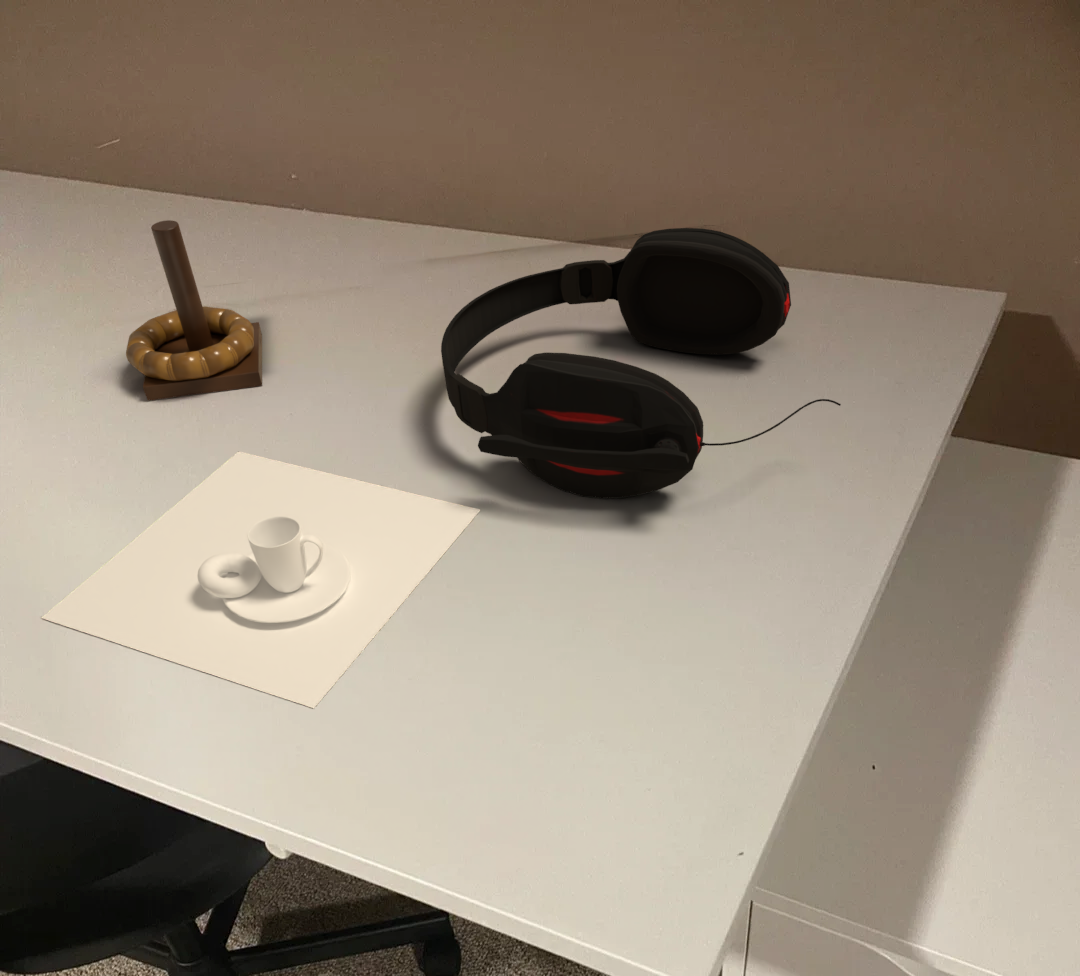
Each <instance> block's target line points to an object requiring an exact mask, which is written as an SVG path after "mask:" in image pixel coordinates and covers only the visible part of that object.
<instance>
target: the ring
mask: <svg viewBox="0 0 1080 976" xmlns="http://www.w3.org/2000/svg"><path fill="white" fill-rule="evenodd" d="M203 310H204V313H205V317H206V320H207V323H208V327H209V330H210V333H217V334H225V335H227V336H226V337H225V338H224V339H223V340H222V341H221V342H219V343H217V344H215V345H212V346H209V347H207V348H204V349H201V350H199V351H192V352H184V353H176V354H170V353H163V352H156V351H155V350H156V349H157V348H158V347H160V346H161V345H162V344H163V343H165V342H168V341H170V340H173V339H176V338H179V337H181V336H184V332H183V329H182V326H181V323H180V319H179V316H178V313H177V310H176V309H173V310H172V311H169V312H166V313H164V314H160V315H158V316H155V317H152V318H149V319H148V320H146V321H145V322H144V323H143V324H141V325H140V326H139V327H138V328H135V330H133V331H132V332H131V333H130V335H129V336H128V339H127V344H126V350H125V351H126V352H125V357H126V359H127V362H128V363H129V364H130V365H131V366H132V367H133V368H135V369H136V370H137V371H139V372H140V373H141V374H143V375H144V377H145V376H147V377H150V378H157V379H164V380H170V381H182V380H190V379H198V378H205V377H209V376H212V375H214V374H217V373H219V372H222V371H224V370H227V369H229V368H232V367H234V366H236V365H237V364H238V363H239V362H240V361H241V360H242V359H243V358H245V357H246V356H247V355H248V354H249V353H250V352H251V351H252V349H253V347H254V328H253V325H252V324H251V323H252V322H250V320H248V319H247V318H246V317H244V316H243V315H241V314H239V313H237V312H236V311H235V310H233V309H230V308H223V307H214V306H205V305H204V306H203Z"/></svg>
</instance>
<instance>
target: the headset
mask: <svg viewBox="0 0 1080 976" xmlns="http://www.w3.org/2000/svg"><path fill="white" fill-rule="evenodd" d="M790 289H791V288H790V282H789V281H788V279H787V278H786V276H785V274H784V273H783V272H782V270H781V268H780V267H779V265H778V264H777V263H776V262H774V261H773V260H772V259H771V258H769V257H768V256H767V255H766V254H765V253H764V252H763V251H761V250H759V249H758V248H757V247H755V246H754V245H752V244H750V243H748V242H747V241H745V240H744V239H741V238H739V237H737V236H734V235H731V234H728V233H725V232H723V231H719V230H714V229H708V228H702V227H701V228H698V227H697V228H696V227H675V228H673V227H672V228H665V229H658V230H652V231H650V232H646V233H644V234H642V235H641V236H640V237H639V238H638V239H637V240H636V241H635V243H634V245H633V246H632V247H631V249H630V250H629V251H628V253H627V254H626V255H625V256H624V257H623V258H621V259H619V260H616V261H612V262H607V261H606V260H605V259H594V260H583V261H574V262H571V263H567V264H566V263H565V265H564V266H563V267H560V268H556V269H550V270H546V271H541V272H536V273H532V274H528V275H525V276H522V277H518V278H515V279H513V280H510V281H507V282H505V283H502V284H500V285H498V286H495V287H493V288H491V289H489V290H487V291H486V292H484V293H481V294H479V296H477V297H475V298H474V299H472V300H471V301H469V302H467V304H465V306H463V307H462V308H461V309H459V311H458V312H457V313H456V314H455V315H454V317H452V319H451V320H450V321H449V324H448V325H447V326H446V328H445V331H444V333H443V335H442V340H441V344H440V345H441V346H440V352H441V353H440V354H441V361H442V367H443V368H442V369H443V375H444V382H445V388H446V389H445V390H446V393H447V398H448V400H449V402H450V404H451V406H452V407H453V409H454V412H455V414H456V416H457V418H458V419H459V420H460V421H461V423H463V424H464V425H466V426H467V427H469V428H470V429H473V430H474V432H475V431H476V432H478V433H480V434H483V433H487V434H489V435H484V436H481V437H479V440H478V443H477V447H478V449H479V451H480V453H485V454H490V455H495V456H500V457H504V458H505V457H506V458H507V457H508V458H516V459H518V460H519V462H520V463H521V464H522V466H524V467H525V468H526V469H527V470H528V471H529V472H530V473H532V474H533V475H534V476H535V477H537V478H538V479H539V480H542V481H543V482H545V483H547V484H548V485H550V486H552V487H555V488H557V489H558V490H560V491H563V492H566V493H571V494H574V495H576V496H581V497H587V498H594V499H621V498H628V497H629V498H630V497H635V496H641V495H645V494H650V493H652V492H656V491H660V490H662V489H664V488H667V487H670V486H672V485H674V484H677V483H679V481H681V480H682V479H683V478H684V477H685V476H687V475H688V474H689V473H690V472H691V471H692V470H693V469H694V465H695V463H696V460H697V458H698V457H699V455H700V453H701V451H702V449H703V447H706V446H710V447H711V446H713V447H714V446H729V445H734V444H739V443H742V442H743V443H744V442H747V441H749V440H752V439H755V438H757V437H759V436H762V435H764V434H765V433H768V432H770V431H772V430H773V429H776V428H777V427H778V426H780V425H781V424H783V423H784V422H786V421H787V420H788V419H790V418H791V417H793V416H794V415H795V414H797V413H798V412H800V411H801V410H803V409H804V408H806V407H808V406H810V405H812V404H814V403H817V402H828V403H832V404H835V405H837V406H840V407H841V405H842V404H841V403H839V402H837V401H835V400H832V399H827V398H819V399H815V400H812V401H809V402H808V403H806V404H804V405H802V406H801V407H799V408H798V409H796V410H795V411H794V412H792V413H790V414H789V415H788V416H786V417H785V418H784V419H782V420H781V421H779V422H778V423H776V424H774V425H773V426H771V427H770V428H768V429H765V430H764V431H762V432H760V433H757V434H755V435H752V436H750V437H747V438H746V437H745V438H743V439H740V440H736V441H729V442H721V443H719V442H718V443H707V442H704V441H703V440H704V421H703V417H702V416H701V412H700V410H699V408H698V406H697V405H696V404H695V403H694V402H693V400H691V399H690V397H688V396H687V395H686V393H684V391H682V390H681V389H679V388H678V387H677V386H676V385H674V384H673V383H672V382H670V381H669V380H668V379H665V378H664V377H662V376H660V375H659V374H657V373H655V372H652V371H649V370H647V369H644V368H641V367H638V366H635V365H632V364H629V363H625V362H621V361H619V360H615V359H610V358H604V357H600V356H599V357H598V356H593V355H585V354H578V353H577V354H576V353H568V352H540V353H535V354H532V355H530V356H529V357H528V358H527V359H526V361H525V362H523V363H519V365H517V366H516V367H515V368H514V369H513V370H512V371H511V373H510V374H509V376H508V377H507V379H506V380H505V382H504V383H503V385H502V386H500V388H499V389H498V390H497V391H496V392H491V393H489V392H486V390H485V389H484V388H483V387H482V386H480V385H478V384H476V383H474V382H472V381H471V380H469V379H467V378H466V377H465V376H463V375H462V374H460V373H456V371H457V368H458V366H459V364H460V363H461V362H462V361H463V359H464V358H465V356H467V355H468V354H469V353H470V351H471V350H472V349H474V348H475V347H476V346H477V345H478V344H479V343H480V342H481V341H483V340H484V339H485V338H486V337H488V336H490V335H491V334H492V333H494V332H495V331H496V330H499V329H501V328H502V327H504V326H506V325H507V324H510V323H512V322H514V321H515V320H518V319H520V318H523V317H524V316H527V315H529V314H532V313H534V312H537V311H541V310H543V309H546V308H550V307H553V306H557V305H561V304H566V303H567V304H568V305H581V304H592V303H593V304H595V303H604V302H606V301H608V300H614V301H616V302H617V303H618V306H619V311H620V313H621V316H622V318H623V320H624V324H625V325H626V327H627V330H628V331H629V333H630V335H631V336H632V338H634V339H635V340H636V341H637V342H639V343H640V344H644V345H646V346H649V347H653V348H657V349H662V350H668V351H673V352H678V353H685V354H686V353H687V354H694V355H695V354H696V355H719V356H720V355H732V354H733V355H734V354H740V353H744V352H747V351H750V350H753V349H754V348H758V347H760V346H761V345H763V344H765V343H766V342H768V341H769V340H771V339H772V338H773V337H774V336H776V334H777V333H778V331H779V330H780V329H782V327H784V326H785V324H786V321H787V318H788V315H789V313H790V309H791V306H792V300H791V291H790Z"/></svg>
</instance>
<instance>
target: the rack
mask: <svg viewBox="0 0 1080 976" xmlns="http://www.w3.org/2000/svg"><path fill="white" fill-rule="evenodd" d="M150 228H151V229H150V230H151V232H152V236H153V239H154V242H155V246H156V248H157V251H158V255H159V258H160V261H161V265H162V268H163V271H164V274H165V277H166V280H167V284H168V288H169V291H170V293H171V296H172V300H173V303H174V307H175V310H177V313H178V316H179V319H180V323H181V326H182V329H183V332H184V336H181V337H179V338H176V339H173V340H170V341H168V342H165V343H163V344H162V345H161V346H160V347H158V348H157V349H156V350H155V351H156V352H163V353H170V354H176V353H184V352H192V351H199V350H201V349H204V348H207V347H209V346H212V345H215V344H217V343H219V342H221V341H222V340H223V339H224V338H225V337H226V336H227V335H225V334H217V333H210V330H209V327H208V323H207V320H206V317H205V313H204V310H203V307H204V306H203V303H202V299H201V296H200V293H199V289H198V285H197V283H196V279H195V275H194V272H193V269H192V266H191V262H190V259H189V255H188V251H187V248H186V244H185V242H184V238H183V235H182V231H181V228H180V224H179V222H178V221H177V220H171V219H170V220H168V219H167V220H161V221H157V222H155V223H153V224H152V225H151V227H150ZM251 324H252V325H253V328H254V347H253V349H252V351H251V352H250V353H249V354H248V355H247V356H246V357H245V358H243V359H242V360H241V361H240V362H239V363H238V364H237V365H236V366H234V367H232V368H229V369H227V370H224V371H222V372H219V373H217V374H214V375H212V376H209V377H205V378H198V379H190V380H182V381H170V380H164V379H157V378H150V377H147V376H145V375H144V377H143V384H142V389H143V392H144V395H145V398H146V400H147V402H149V401H156V400H164V399H173V398H180V397H187V396H195V395H202V394H211V393H219V392H225V391H232V390H239V389H247V388H255V387H262V386H263V333H262V329H261V326H260V325H261V324H260V322H259V321H256V322H251Z"/></svg>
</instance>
